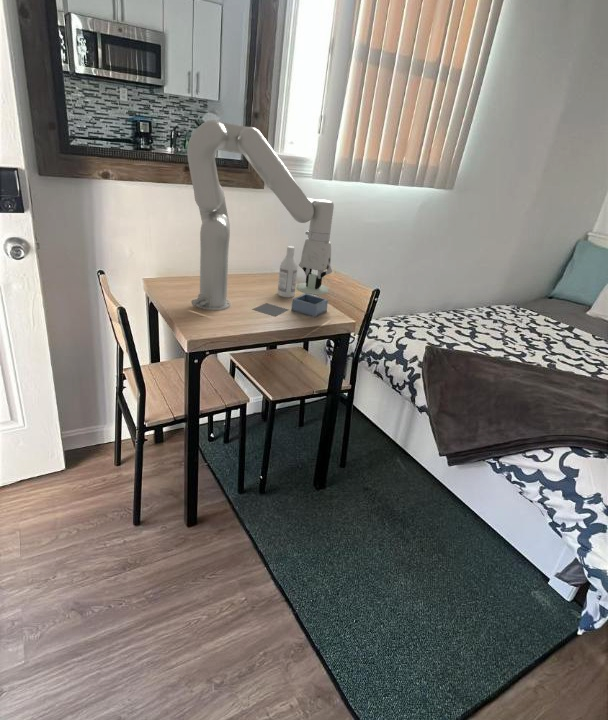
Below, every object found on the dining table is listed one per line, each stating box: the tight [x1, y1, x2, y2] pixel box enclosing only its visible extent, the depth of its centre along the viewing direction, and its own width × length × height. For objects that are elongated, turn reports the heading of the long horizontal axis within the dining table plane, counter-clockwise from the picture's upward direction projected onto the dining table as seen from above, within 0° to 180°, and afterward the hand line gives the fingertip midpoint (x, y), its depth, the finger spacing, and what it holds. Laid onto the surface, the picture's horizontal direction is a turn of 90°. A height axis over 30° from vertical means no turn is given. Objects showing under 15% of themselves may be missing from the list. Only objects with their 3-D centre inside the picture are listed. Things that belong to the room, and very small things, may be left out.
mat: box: [251, 302, 290, 317], centre depth 167 cm, size 10×10×1 cm
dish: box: [291, 293, 329, 318], centre depth 170 cm, size 10×10×5 cm
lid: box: [296, 272, 330, 296], centre depth 166 cm, size 12×12×6 cm
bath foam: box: [277, 245, 298, 298], centre depth 181 cm, size 7×7×20 cm
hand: (313, 286), depth 167 cm, fingers closed on lid, 3 cm apart
